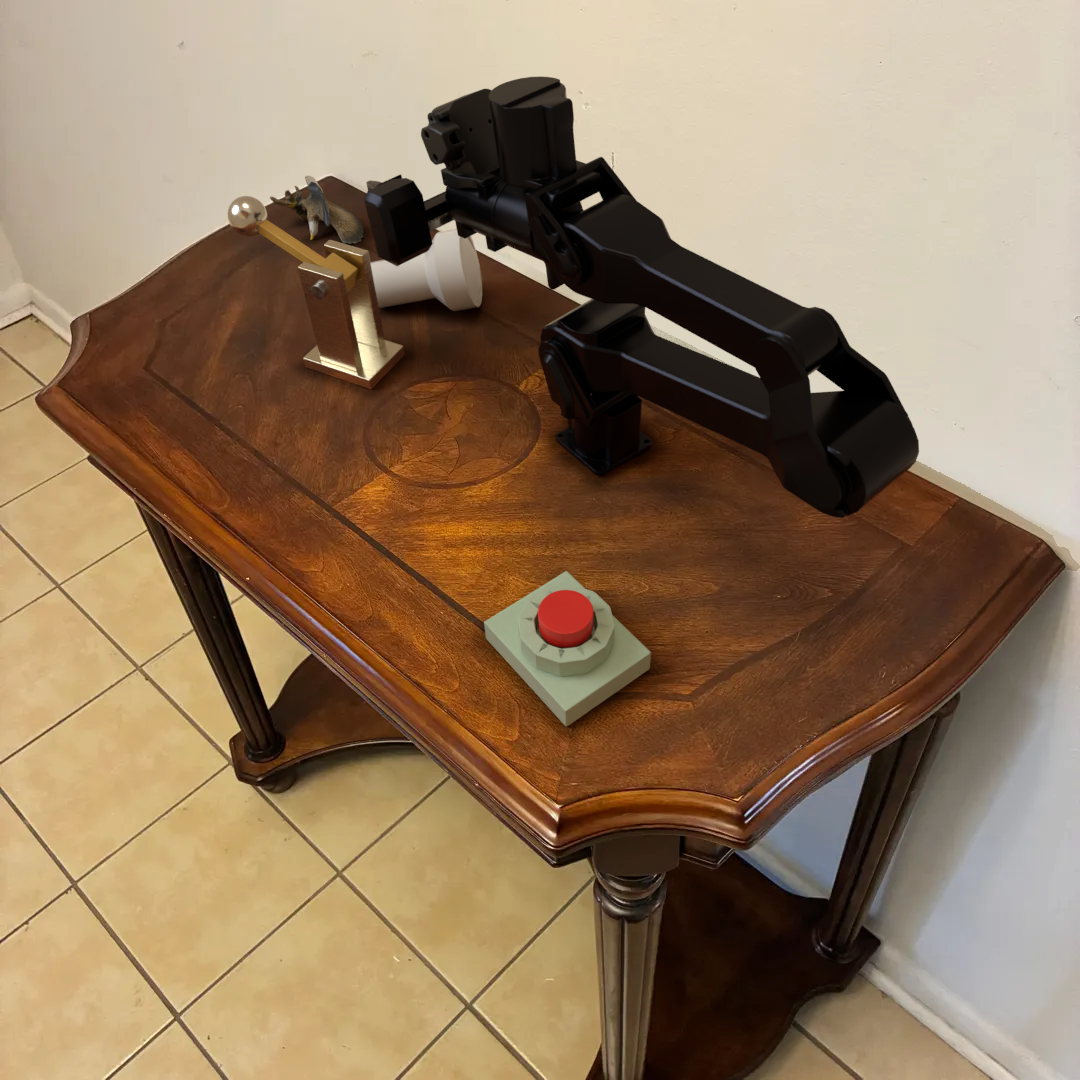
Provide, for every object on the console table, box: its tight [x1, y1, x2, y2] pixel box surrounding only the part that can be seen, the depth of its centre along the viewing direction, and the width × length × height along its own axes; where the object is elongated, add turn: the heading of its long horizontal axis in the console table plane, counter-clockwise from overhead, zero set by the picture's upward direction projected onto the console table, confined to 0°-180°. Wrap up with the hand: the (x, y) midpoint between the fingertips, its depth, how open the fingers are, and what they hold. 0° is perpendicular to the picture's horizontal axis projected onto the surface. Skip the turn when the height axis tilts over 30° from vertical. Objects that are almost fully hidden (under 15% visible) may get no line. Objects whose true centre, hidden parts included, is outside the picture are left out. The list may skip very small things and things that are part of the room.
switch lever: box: [227, 195, 358, 292], centre depth 92 cm, size 13×4×4 cm, turn 62°
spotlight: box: [370, 227, 483, 312], centre depth 103 cm, size 8×11×8 cm
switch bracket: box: [297, 239, 405, 390], centre depth 95 cm, size 8×6×12 cm
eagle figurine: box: [269, 174, 365, 245], centre depth 113 cm, size 8×7×9 cm
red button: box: [538, 590, 594, 648], centre depth 72 cm, size 4×4×2 cm
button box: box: [483, 570, 652, 728], centre depth 74 cm, size 10×8×4 cm
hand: (410, 168), depth 91 cm, fingers open, 9 cm apart
